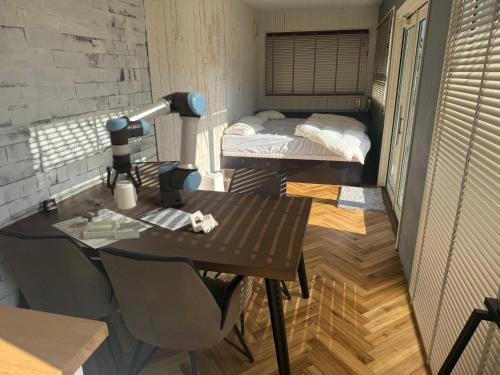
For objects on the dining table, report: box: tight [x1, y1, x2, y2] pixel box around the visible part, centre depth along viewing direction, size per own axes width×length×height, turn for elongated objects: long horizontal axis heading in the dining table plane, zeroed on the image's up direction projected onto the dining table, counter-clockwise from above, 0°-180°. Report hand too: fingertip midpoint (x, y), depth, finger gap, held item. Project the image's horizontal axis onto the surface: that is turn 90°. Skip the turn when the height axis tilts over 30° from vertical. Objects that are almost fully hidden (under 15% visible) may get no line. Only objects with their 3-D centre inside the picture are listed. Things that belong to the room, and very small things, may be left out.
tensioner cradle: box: [115, 221, 142, 240], centre depth 166 cm, size 10×12×3 cm
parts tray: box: [82, 219, 119, 240], centre depth 167 cm, size 14×14×3 cm
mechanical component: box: [85, 196, 105, 218], centre depth 185 cm, size 3×10×10 cm, turn 79°
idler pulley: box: [80, 209, 97, 224], centre depth 174 cm, size 7×7×7 cm
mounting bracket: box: [188, 210, 219, 234], centre depth 171 cm, size 12×6×11 cm, turn 155°
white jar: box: [114, 180, 137, 210], centre depth 161 cm, size 8×8×12 cm
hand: (126, 200), depth 162 cm, fingers closed on white jar, 8 cm apart
